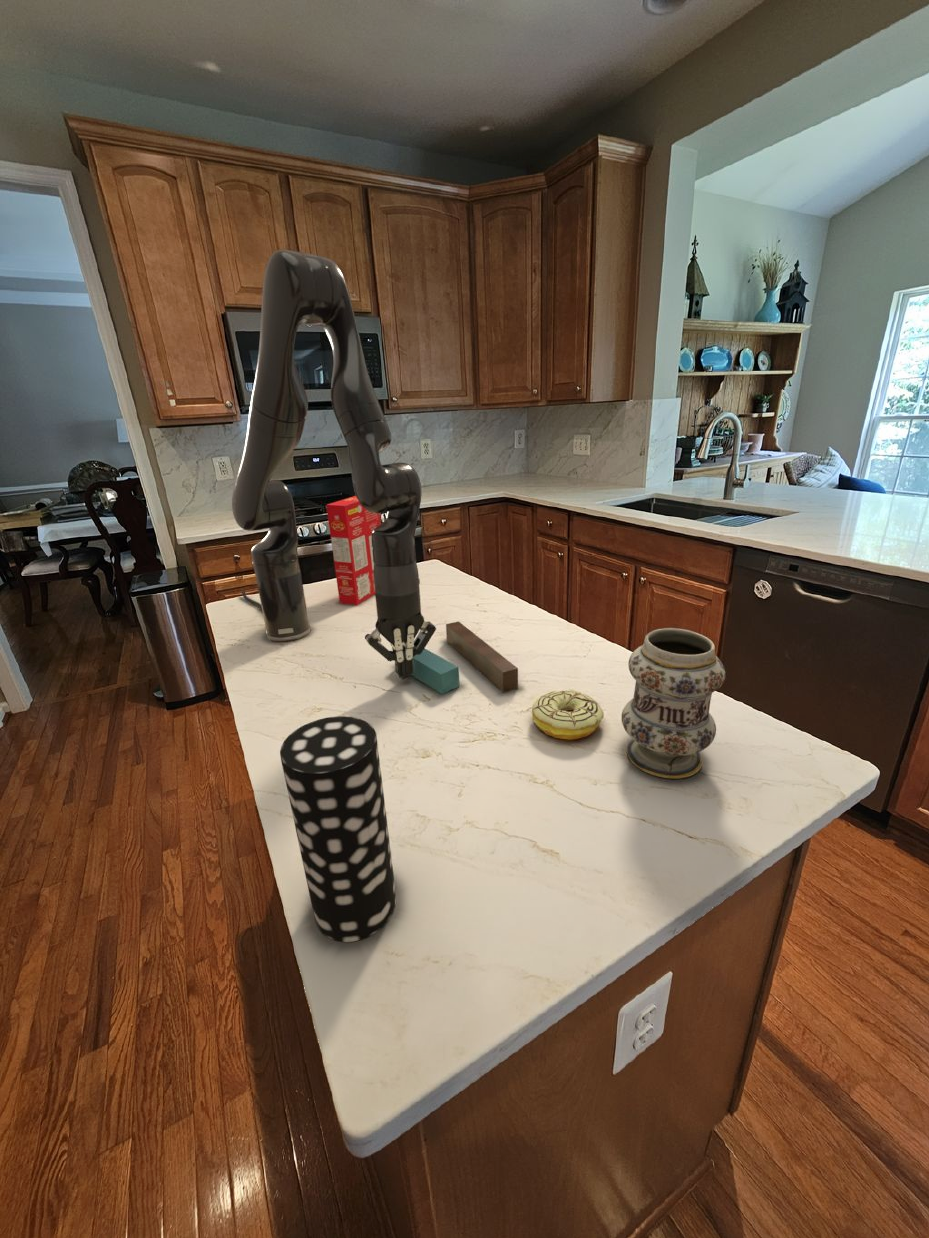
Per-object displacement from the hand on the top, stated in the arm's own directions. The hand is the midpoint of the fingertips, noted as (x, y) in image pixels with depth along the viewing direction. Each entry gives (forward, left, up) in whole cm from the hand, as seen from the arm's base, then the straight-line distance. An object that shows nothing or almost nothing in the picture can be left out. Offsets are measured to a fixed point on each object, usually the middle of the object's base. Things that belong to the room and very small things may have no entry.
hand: (404, 677), depth 96 cm
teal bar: (0, +4, -1) cm, 5 cm away
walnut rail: (0, +15, -1) cm, 15 cm away
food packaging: (-50, +7, -1) cm, 51 cm away
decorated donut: (+25, +18, -1) cm, 31 cm away
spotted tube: (+41, -20, -1) cm, 46 cm away
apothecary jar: (+38, +25, -1) cm, 45 cm away
